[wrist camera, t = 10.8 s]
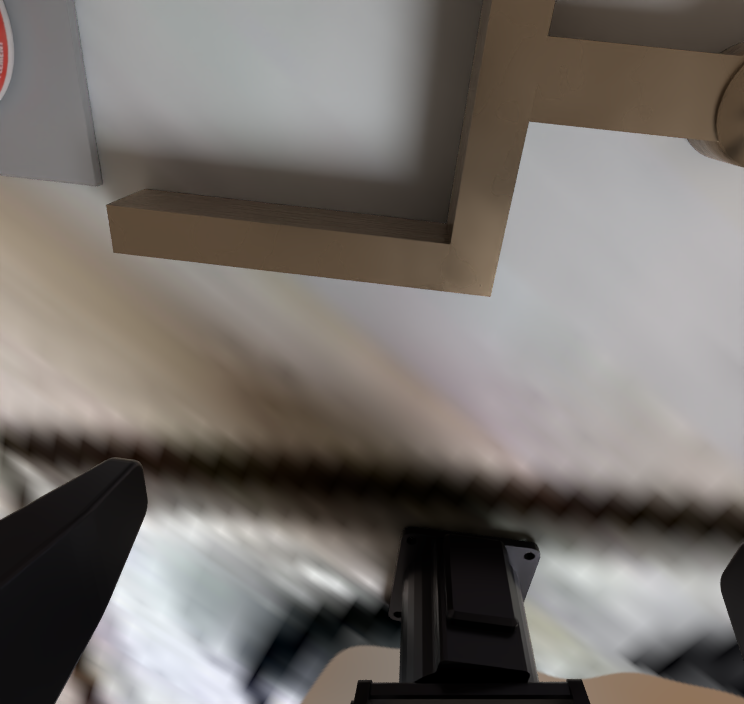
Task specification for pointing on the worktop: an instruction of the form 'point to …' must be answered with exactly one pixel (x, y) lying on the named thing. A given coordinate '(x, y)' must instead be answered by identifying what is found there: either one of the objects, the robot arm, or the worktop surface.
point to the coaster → (47, 98)
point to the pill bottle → (5, 50)
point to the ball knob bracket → (462, 161)
